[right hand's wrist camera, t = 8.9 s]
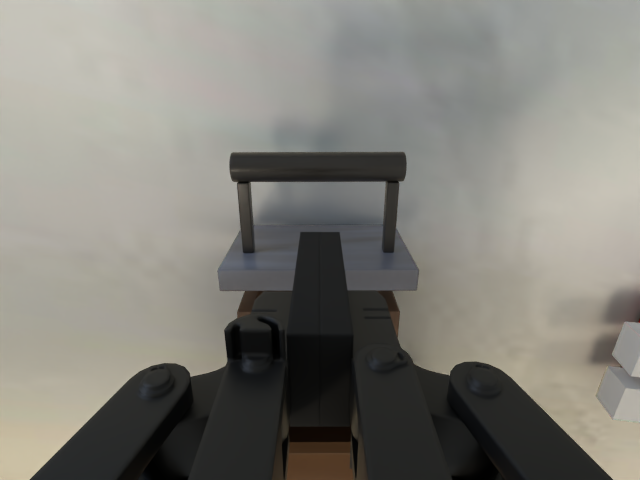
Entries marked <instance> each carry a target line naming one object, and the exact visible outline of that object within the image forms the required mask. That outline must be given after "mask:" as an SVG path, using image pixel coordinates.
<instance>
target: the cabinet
mask: <svg viewBox="0 0 640 480" xmlns="http://www.w3.org/2000/svg"><path fill="white" fill-rule="evenodd" d="M350 446H351V442H289V458H288V470H287V480H353V470H352V469H350Z"/></svg>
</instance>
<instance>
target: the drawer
mask: <svg viewBox="0 0 640 480" xmlns="http://www.w3.org/2000/svg"><path fill="white" fill-rule="evenodd" d="M230 175H231V179H232V181H233V182H238V183H237V189H238V201H239V213H240V225H241V230H240V232H239V233H238V235H237V237H236V239H235V240H234V242H233V244H232V246H231V248H230V249H229V251H228V253H227V255H226V256H225V258H224V260H223V262H222V264H221V265H220V267H219V269H218V279H219V288H220V291H245V292H244V295H243V298H242V301H241V303H240V306H239V309H238V311H237V316H238V318H239V317H242V316H245V315H249V314H251V312H252V307H253V304H254V301H255V299H256V298H257V297H258V296H260V295H261V294H262V293H263V292H264V291H292V290H293V283H294V275H295V268H296V261H297V253H298V246H299V239H300V232H340V239H341V246H342V253H343V261H344V268H345V275H346V283H347V290H376V291H377V292H379V293H380V294H381V295H382V296H383V297H384V298H385V299H386V302H387V306H388V311H389V312H390V315H391V319H392V322H393V325H394V328H395V331H396V335H397V338H398V327H399V315H400V311H399V308H398V306H397V303H396V300H395V297H394V294H393V292H392V291H402V290H417V285H418V275H419V269H418V267H417V265H416V264H415V262H414V260H413V258H412V256H411V254H410V253H409V251H408V249H407V247H406V245H405V243H404V242H403V240H402V238H401V236H400V234H399V233H398V231H397V229H396V220H397V206H398V193H399V182H401V181H404V179H405V175H406V155H405V153H404V152H233V153H231V156H230ZM250 182H386V187H385V203H384V220H383V225H253V211H252V197H251V183H250ZM289 442H351V421H350V427H290V423H289Z"/></svg>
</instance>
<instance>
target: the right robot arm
mask: <svg viewBox="0 0 640 480" xmlns="http://www.w3.org/2000/svg"><path fill="white" fill-rule="evenodd" d="M224 332H225V341H226V351H227V360H228V361H227V364H226V366H225V367H223V368H221V369H219V370H216V371H213V372H210V373H206V374H202V375H198V376H193V377H190V373H189V372H188V370H187V369H186V368H185V367H183V366H181V365H178V364H172V363H163V364H159V365H154V366H151V367H148V368H146V369H144V370H142V371H140V372H138V373H137V374H136V375H135V376H133V377H132V378H131V379H129V380H128V381H127V382H126V383H125V384H124V385H123V386H122V387H121V389H120V390H119V391H118V392H117V393H116V394H115V395H114V396H113V397H112V398H111V399H110V400H109V401H108V402H107V403H106V404H105V405H104V406H103V407H102V408H101V409H100V410H99V411H98V412H97V413H96V414H95V415H94V416H93V417H92V418H91V419H90V420H89V421H88V422H87V423H86V424H85V425H84V426H83V427H82V428H81V429H80V430H79V431H78V432H77V433H76V434H75V435H74V436H73V437H72V438H71V439H70V440H69V441H68V442H67V443H66V444H65V445H64V446H63V447H62V448H61V449H60V450H59V451H58V452H57V453H56V454H55V455H54V456H53V457H52V458H51V459H50V460H49V461H48V462H47V463H46V464H45V465H44V466H43V467H42V468H41V469H40V470H39V471H38V472H37V473H36V474H35V475H34V476H33V477H32V478H31V479H30V480H287V470H288V458H289V423H290V427H350V421H351V446H350V469H352V470H353V480H613V479H612V478H611V477H610V476H609V475H608V474H607V473H606V472H605V471H604V470H603V469H602V468H601V467H600V466H599V465H598V464H597V463H596V462H595V461H594V460H593V459H592V458H591V457H590V456H589V455H588V454H587V453H586V452H585V451H584V450H583V449H582V448H581V447H580V446H579V445H578V444H577V443H576V442H575V441H574V440H573V439H572V438H571V437H570V436H569V435H568V434H567V433H566V432H565V431H564V430H563V429H562V428H561V427H560V426H559V425H558V424H557V423H556V422H555V421H554V420H553V419H552V418H551V417H550V416H549V415H548V414H547V413H546V412H545V411H544V410H543V409H542V408H541V407H540V406H539V405H538V404H537V403H536V402H535V401H534V400H533V399H532V398H531V397H530V396H529V395H528V394H527V393H526V392H525V391H524V390H523V389H522V388H521V387H520V386H519V385H518V384H517V383H516V382H515V381H514V380H513V379H512V378H511V377H509V376H508V375H507V374H505V373H504V372H503V371H501V370H500V369H498V368H495V367H493V366H491V365H489V364H484V363H480V362H463V363H461V364H458V365H456V366H455V367H454V368H453V369H452V370H451V373H450V376H449V375H445V374H440V373H436V372H432V371H429V370H425V369H423V368H421V367H418V366H416V365H415V364H413V361H412V359H411V357H410V356H409V354H408V353H407V352H405V351H404V350H403V349H401V348H400V344H399V341H398V338H397V335H396V331H395V328H394V325H393V322H392V319H391V315H390V312H389V311H388V306H387V302H386V299H385V298H384V297H383V296H382V295H381V294H380V293H379V292H377V291H376V290H347V283H346V275H345V268H344V261H343V253H342V246H341V239H340V232H300V239H299V246H298V253H297V261H296V268H295V275H294V283H293V290H292V291H264V292H263V293H262V294H261V295H260V296H258V297H257V298H256V299H255V301H254V304H253V307H252V312H251V314H249V315H245V316H242V317H239V318H237V319H235V320H234V321H232V322H231V323H229V324H228V326H227V327H226V328H225V330H224Z"/></svg>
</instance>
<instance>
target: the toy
mask: <svg viewBox="0 0 640 480" xmlns="http://www.w3.org/2000/svg"><path fill="white" fill-rule="evenodd" d="M612 355H613V357H614V358H615V359H616V360H617V361H618V362H619V363H620V365H621V366H622V367H613V366H607V368H606V371H605V373H604V376H603V378H602V381H601V383H600V386H599V388H598V391H597V394H596V397H597V398H598V400H599V401H600V403H601V404H602V405H603V407H604V408H605V410H606V411H607V412H608V414H609V415H610V417H611V418H612V419H613V420H621V421H629V422H637V423H640V320H639V322H638V323H636V322H624V324H623V327H622V330H621V332H620V335H619V337H618V340H617V342H616V345H615V347H614V350H613V353H612Z"/></svg>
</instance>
